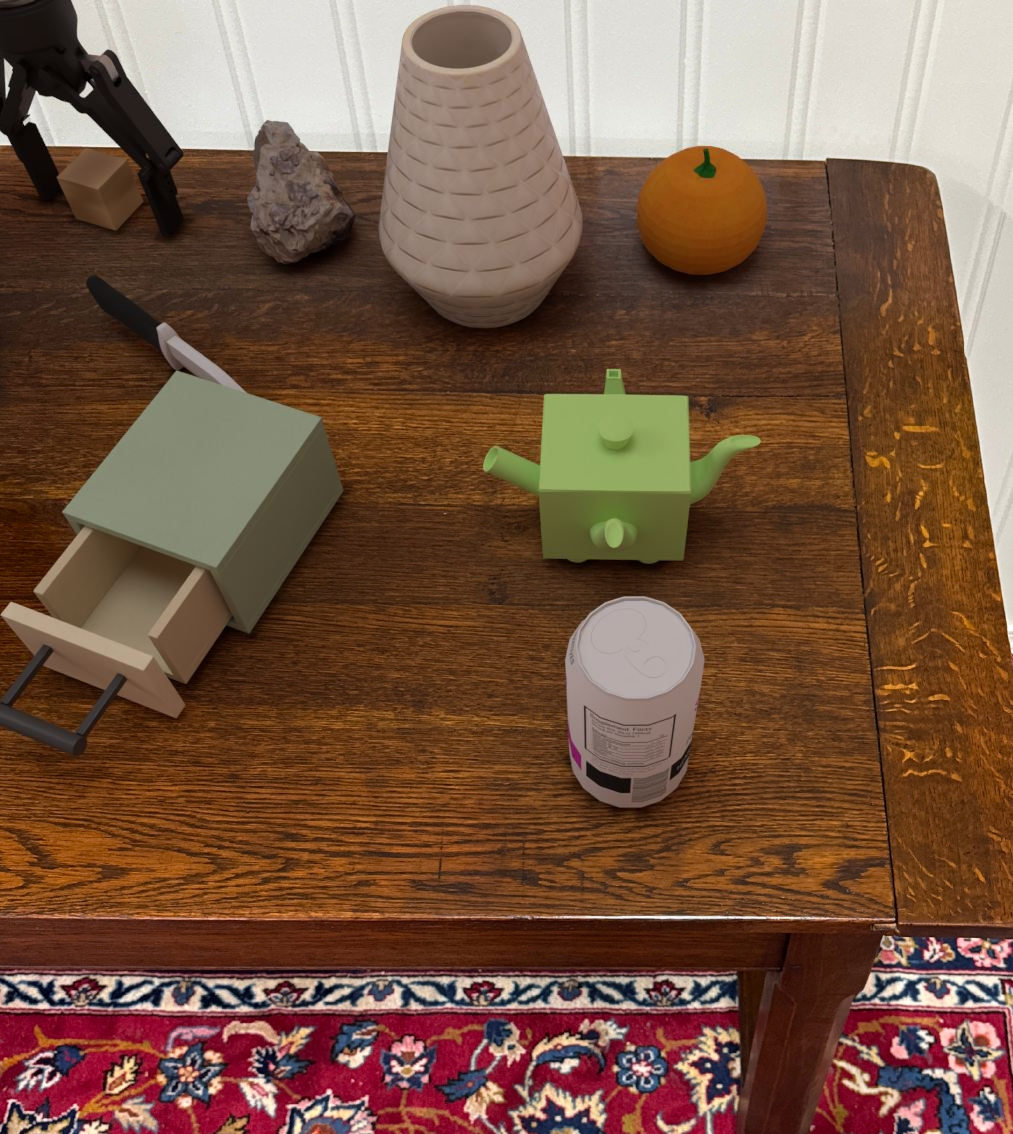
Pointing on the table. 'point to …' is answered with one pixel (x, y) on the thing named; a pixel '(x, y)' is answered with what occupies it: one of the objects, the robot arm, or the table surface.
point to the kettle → (615, 474)
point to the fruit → (701, 211)
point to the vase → (475, 172)
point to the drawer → (114, 630)
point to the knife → (156, 334)
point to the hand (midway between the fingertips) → (112, 209)
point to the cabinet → (217, 487)
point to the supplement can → (632, 700)
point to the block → (100, 189)
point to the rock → (294, 197)
